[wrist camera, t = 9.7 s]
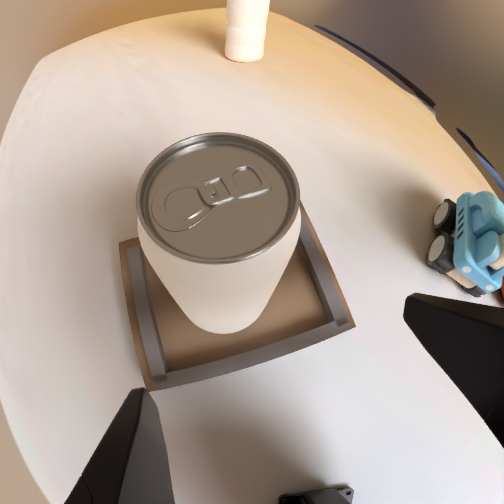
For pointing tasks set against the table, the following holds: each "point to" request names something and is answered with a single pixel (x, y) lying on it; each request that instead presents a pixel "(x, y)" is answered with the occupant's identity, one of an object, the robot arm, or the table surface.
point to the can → (219, 226)
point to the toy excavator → (470, 242)
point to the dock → (238, 343)
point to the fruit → (502, 286)
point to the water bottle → (246, 29)
